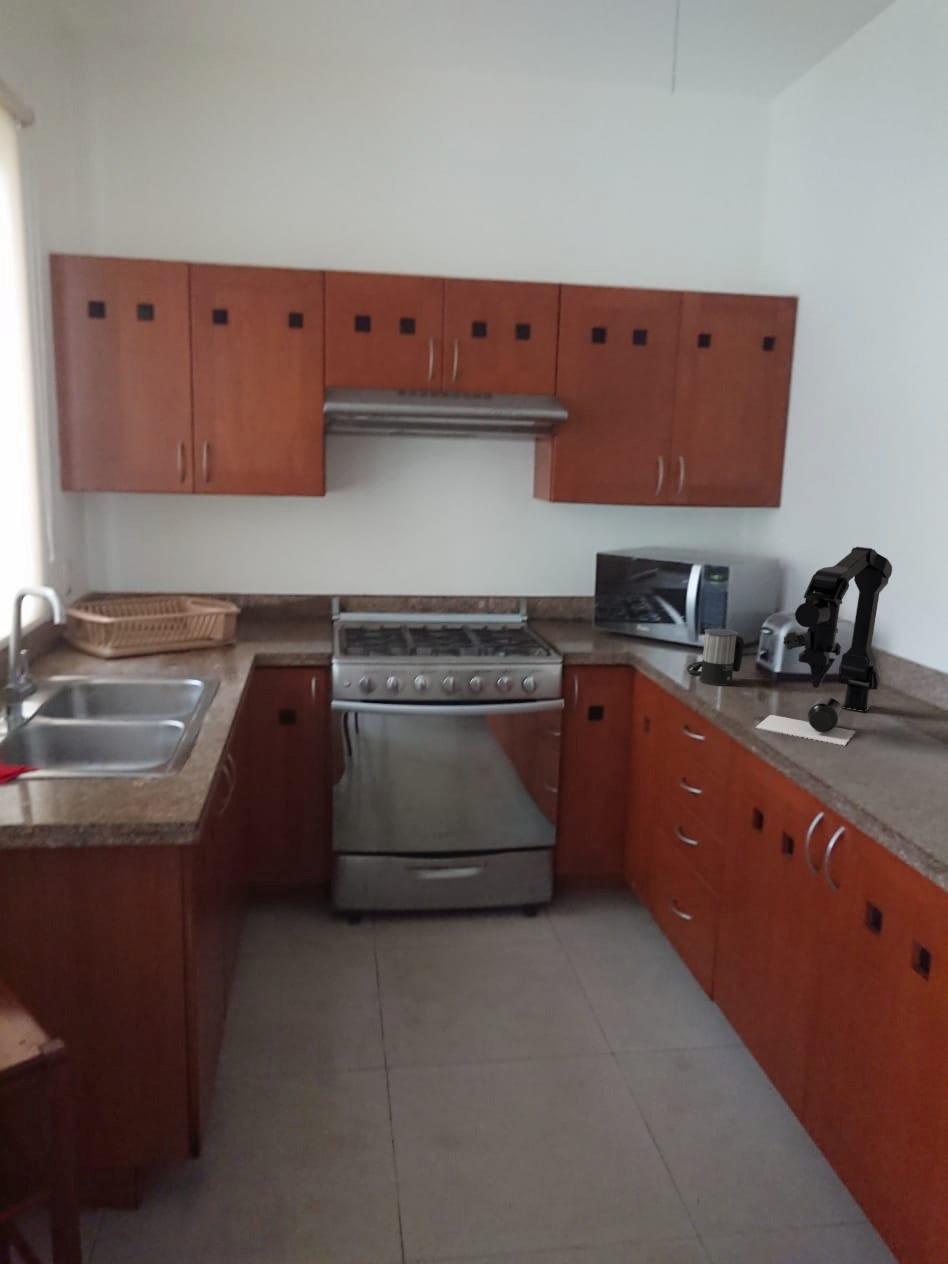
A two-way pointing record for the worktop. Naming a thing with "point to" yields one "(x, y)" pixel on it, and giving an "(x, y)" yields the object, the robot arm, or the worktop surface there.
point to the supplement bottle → (824, 714)
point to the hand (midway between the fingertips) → (815, 687)
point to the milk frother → (719, 657)
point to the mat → (805, 730)
